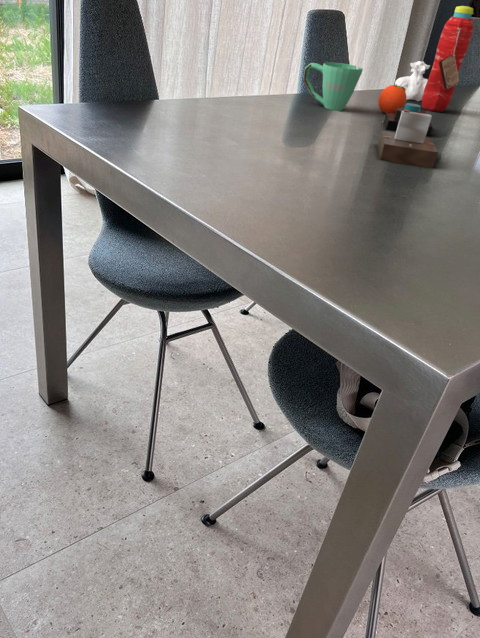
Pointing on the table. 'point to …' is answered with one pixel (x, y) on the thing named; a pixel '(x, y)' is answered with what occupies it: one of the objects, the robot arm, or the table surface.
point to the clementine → (392, 99)
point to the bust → (414, 81)
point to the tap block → (406, 151)
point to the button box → (393, 120)
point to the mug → (334, 83)
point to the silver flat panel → (412, 126)
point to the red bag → (448, 60)
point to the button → (412, 107)
